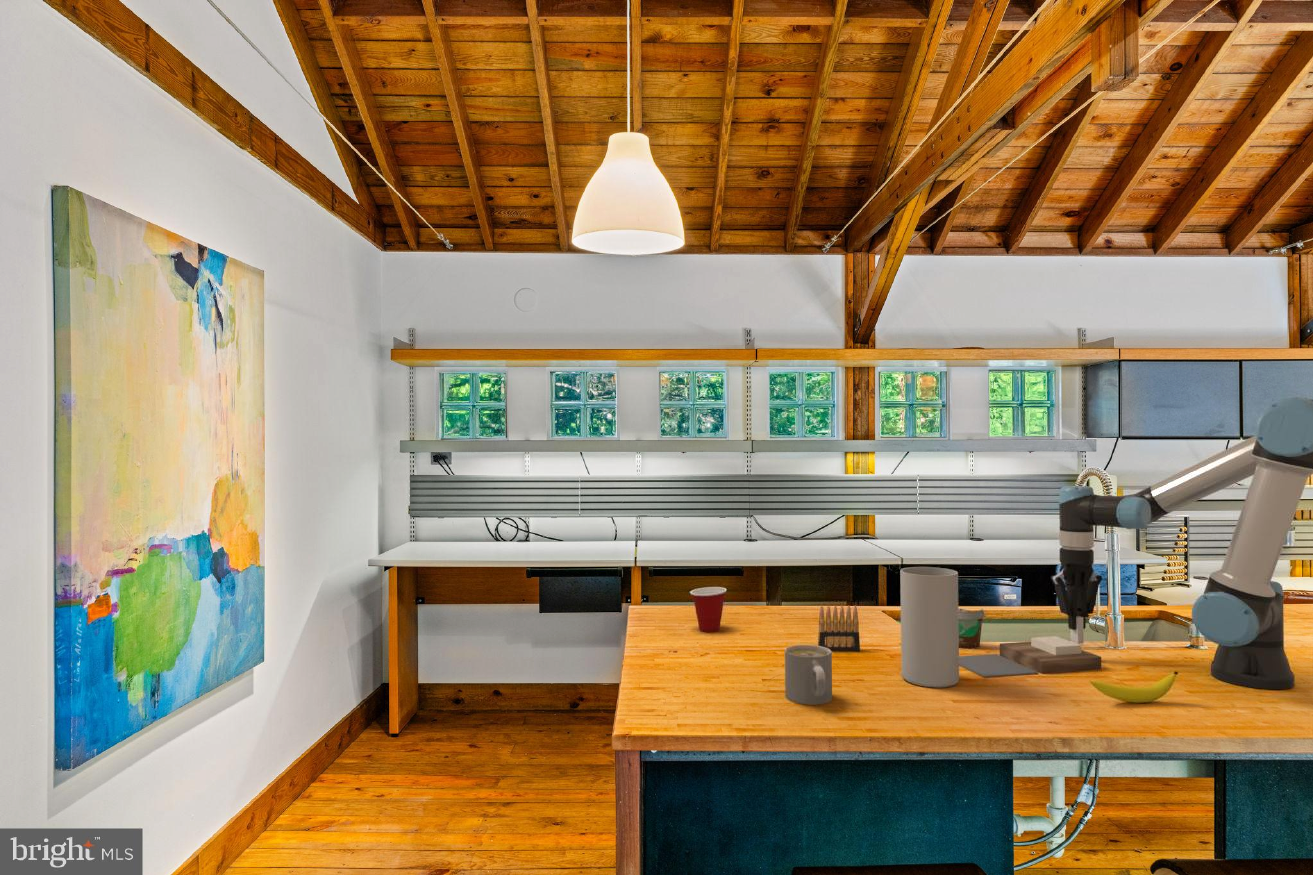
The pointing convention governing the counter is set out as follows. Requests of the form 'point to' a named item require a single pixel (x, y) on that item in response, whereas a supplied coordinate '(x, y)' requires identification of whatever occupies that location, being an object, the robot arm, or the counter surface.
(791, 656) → the coffee mug
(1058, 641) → the ceramic tile
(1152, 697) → the banana
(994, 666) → the charcoal mat
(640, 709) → the counter surface
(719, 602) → the plastic cup
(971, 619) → the food container
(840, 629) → the ammunition clip
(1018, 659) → the walnut board
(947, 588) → the cylinder vase
